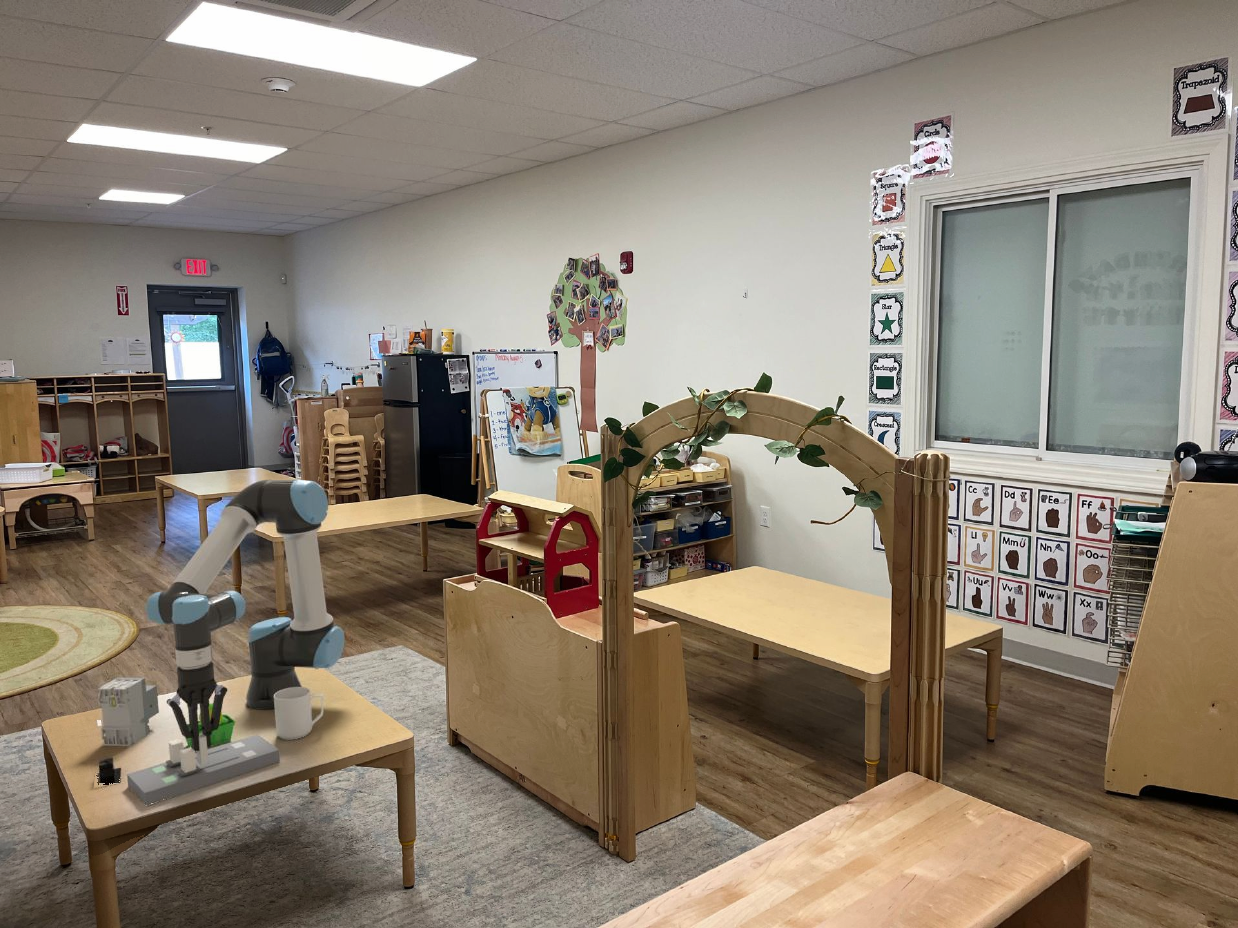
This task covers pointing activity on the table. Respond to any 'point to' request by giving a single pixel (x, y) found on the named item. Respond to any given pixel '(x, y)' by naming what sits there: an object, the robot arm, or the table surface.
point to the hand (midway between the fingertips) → (202, 762)
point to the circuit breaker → (126, 710)
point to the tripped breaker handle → (188, 762)
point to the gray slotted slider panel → (203, 769)
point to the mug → (294, 712)
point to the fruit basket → (221, 733)
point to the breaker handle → (175, 752)
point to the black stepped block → (108, 772)
